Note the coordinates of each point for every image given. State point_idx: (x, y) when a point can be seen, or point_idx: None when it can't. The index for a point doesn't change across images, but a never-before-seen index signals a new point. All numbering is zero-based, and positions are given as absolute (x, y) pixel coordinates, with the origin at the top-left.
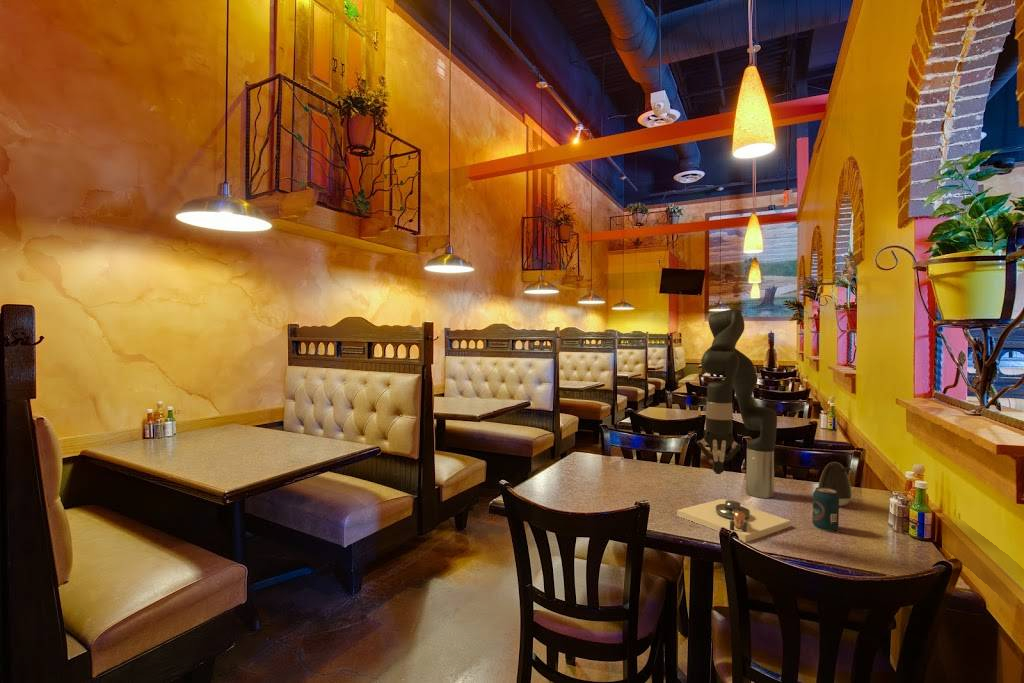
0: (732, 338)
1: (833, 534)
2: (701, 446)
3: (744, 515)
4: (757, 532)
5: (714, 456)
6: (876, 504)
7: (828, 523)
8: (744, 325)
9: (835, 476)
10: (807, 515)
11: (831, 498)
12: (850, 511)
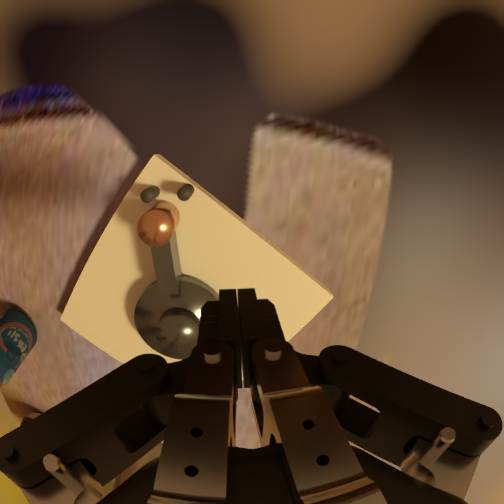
0: None
1: (9, 294)
2: (459, 414)
3: (140, 218)
4: (119, 205)
5: (293, 373)
6: (16, 418)
7: (7, 313)
8: None
9: None
10: (57, 376)
11: None
12: (23, 397)
